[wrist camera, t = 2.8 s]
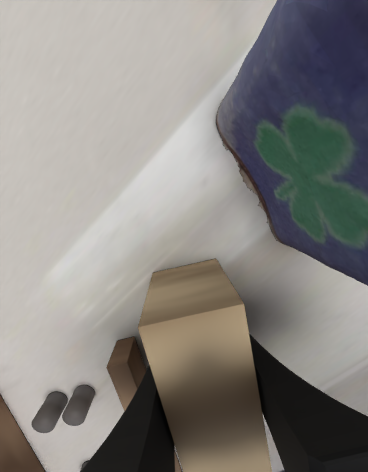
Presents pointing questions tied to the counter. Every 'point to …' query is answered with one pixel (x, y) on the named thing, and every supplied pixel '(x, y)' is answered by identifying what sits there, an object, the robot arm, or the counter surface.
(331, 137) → the flask
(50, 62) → the counter surface
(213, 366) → the light wooden block
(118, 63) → the counter surface
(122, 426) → the robot arm
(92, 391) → the peg frame
